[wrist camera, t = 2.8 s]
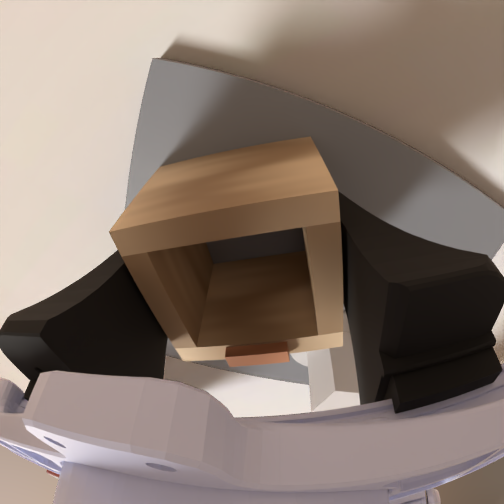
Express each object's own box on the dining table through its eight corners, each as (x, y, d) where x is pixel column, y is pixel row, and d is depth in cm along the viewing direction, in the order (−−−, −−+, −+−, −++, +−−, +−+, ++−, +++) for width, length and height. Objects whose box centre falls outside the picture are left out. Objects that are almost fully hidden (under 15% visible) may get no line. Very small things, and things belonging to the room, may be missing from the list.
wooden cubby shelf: (310, 136, 10) (342, 198, 6) (325, 262, 13) (344, 355, 9) (159, 167, 11) (102, 240, 7) (201, 279, 14) (181, 370, 10)
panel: (509, 212, 12) (560, 268, 8) (366, 382, 21) (376, 437, 17) (159, 57, 9) (94, 64, 5) (124, 332, 18) (101, 394, 14)
